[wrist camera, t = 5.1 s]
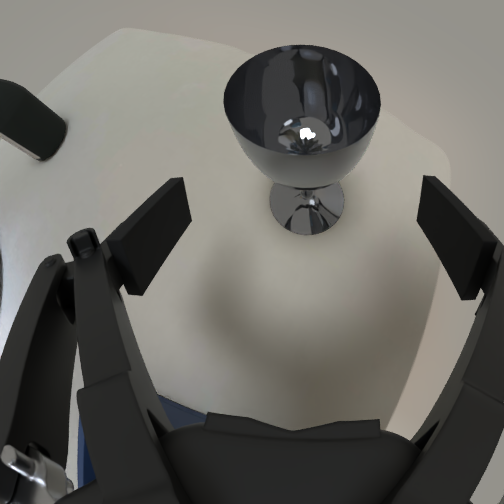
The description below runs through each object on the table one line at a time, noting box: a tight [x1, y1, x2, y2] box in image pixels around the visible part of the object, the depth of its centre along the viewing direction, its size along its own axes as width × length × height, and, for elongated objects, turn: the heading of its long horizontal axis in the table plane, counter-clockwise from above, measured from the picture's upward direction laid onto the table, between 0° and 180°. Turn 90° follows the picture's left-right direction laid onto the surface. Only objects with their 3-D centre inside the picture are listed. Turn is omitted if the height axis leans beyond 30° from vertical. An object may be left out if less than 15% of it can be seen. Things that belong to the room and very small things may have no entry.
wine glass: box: [224, 45, 381, 235], centre depth 20 cm, size 8×8×15 cm
